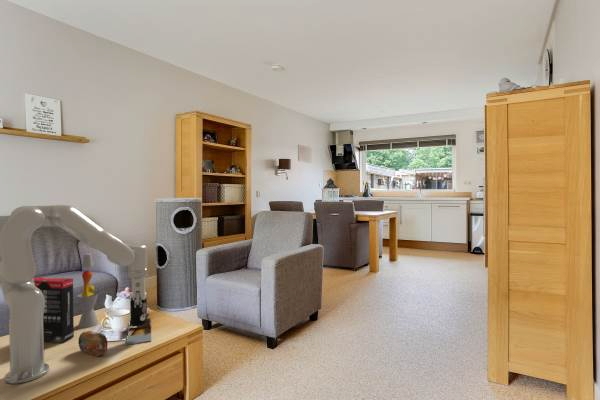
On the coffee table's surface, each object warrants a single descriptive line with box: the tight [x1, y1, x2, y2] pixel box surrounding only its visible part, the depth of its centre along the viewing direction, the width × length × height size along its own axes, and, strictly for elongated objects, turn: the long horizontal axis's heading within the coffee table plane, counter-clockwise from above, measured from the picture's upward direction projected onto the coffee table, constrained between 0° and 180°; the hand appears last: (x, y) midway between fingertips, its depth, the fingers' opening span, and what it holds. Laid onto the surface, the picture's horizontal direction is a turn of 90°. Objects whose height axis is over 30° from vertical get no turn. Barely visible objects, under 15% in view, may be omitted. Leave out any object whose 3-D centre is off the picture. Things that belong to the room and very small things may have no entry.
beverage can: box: [129, 295, 148, 326], centre depth 152 cm, size 7×7×12 cm
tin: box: [77, 330, 108, 357], centre depth 140 cm, size 15×3×8 cm, turn 65°
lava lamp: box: [76, 253, 100, 329], centre depth 170 cm, size 9×9×35 cm
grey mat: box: [125, 332, 152, 346], centre depth 153 cm, size 9×10×1 cm
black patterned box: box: [126, 317, 152, 334], centre depth 162 cm, size 10×10×4 cm
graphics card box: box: [33, 276, 75, 344], centre depth 152 cm, size 17×7×27 cm, turn 84°
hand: (138, 313), depth 152 cm, fingers closed on beverage can, 6 cm apart
